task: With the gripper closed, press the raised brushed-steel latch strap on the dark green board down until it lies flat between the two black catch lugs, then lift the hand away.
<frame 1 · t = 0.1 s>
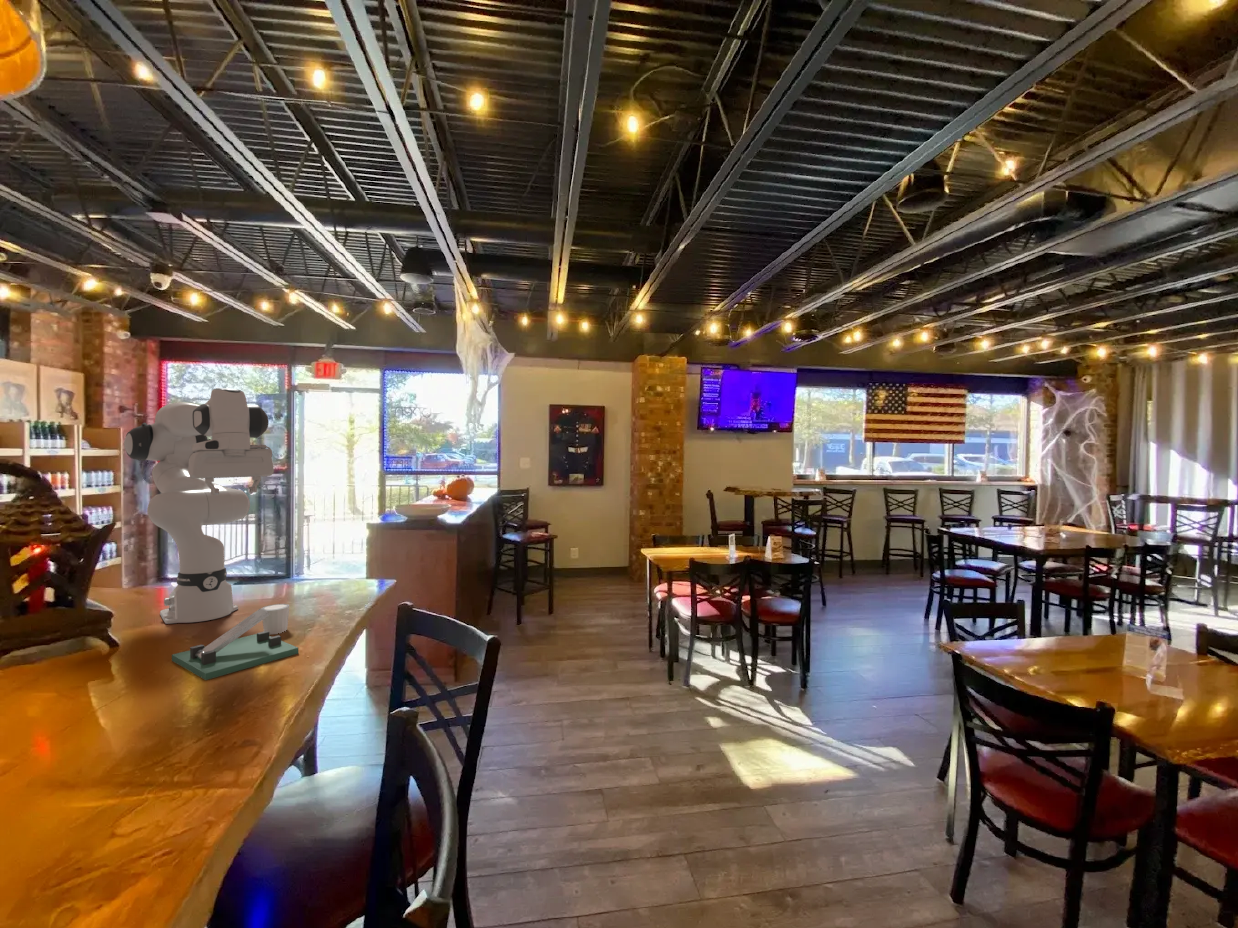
hand: (234, 493, 159), 39 cm above the bar counter, tool pointing down, fingers open, 8 cm apart
white cylinder: (275, 631, 159), on the bar counter
steel strap: (233, 633, 139), point 6 cm above the bar counter, hinge at 28.0°
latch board: (236, 656, 139), on the bar counter
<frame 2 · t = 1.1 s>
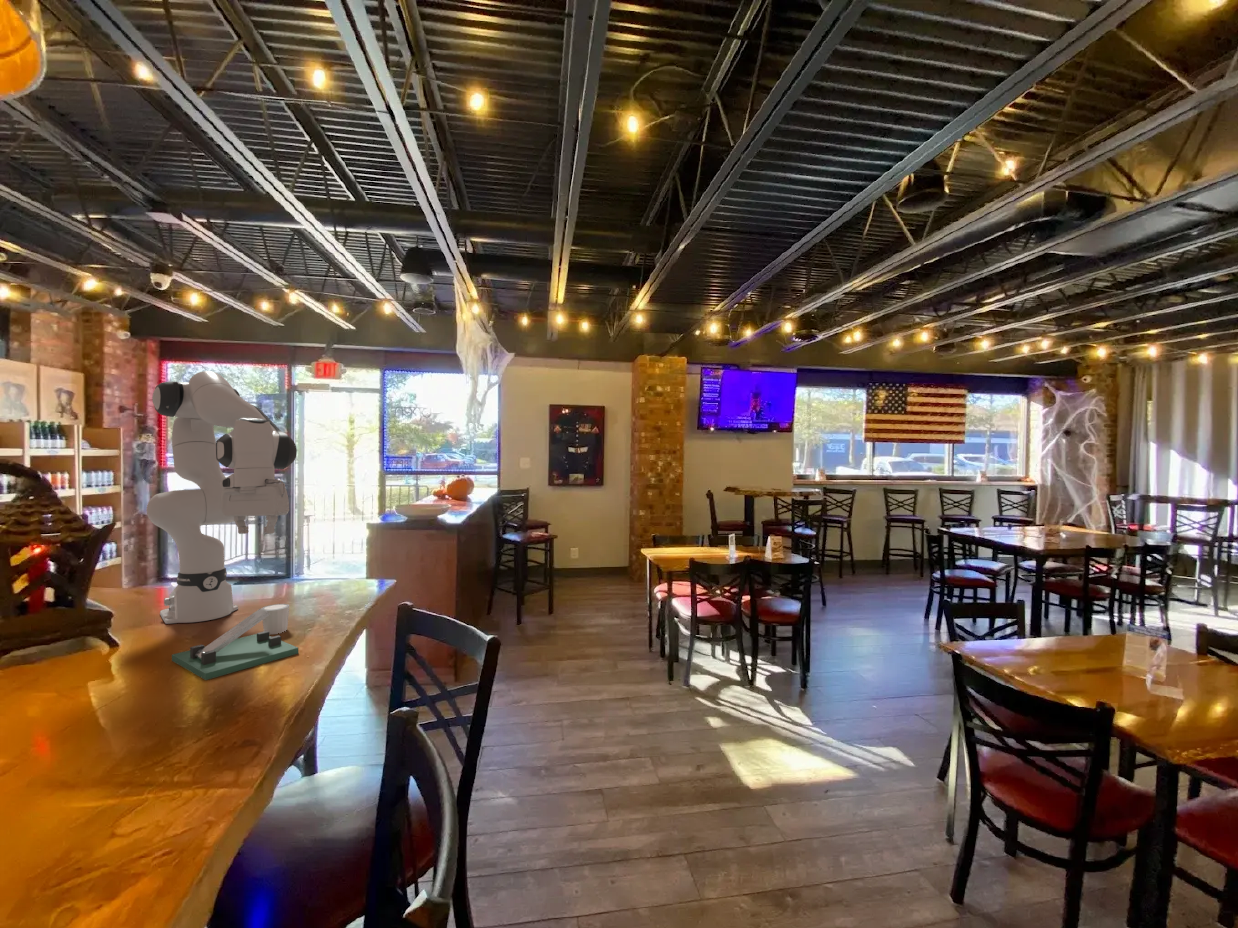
hand: (256, 533, 145), 30 cm above the bar counter, tool pointing down, fingers open, 8 cm apart
nothing on the bar counter moved.
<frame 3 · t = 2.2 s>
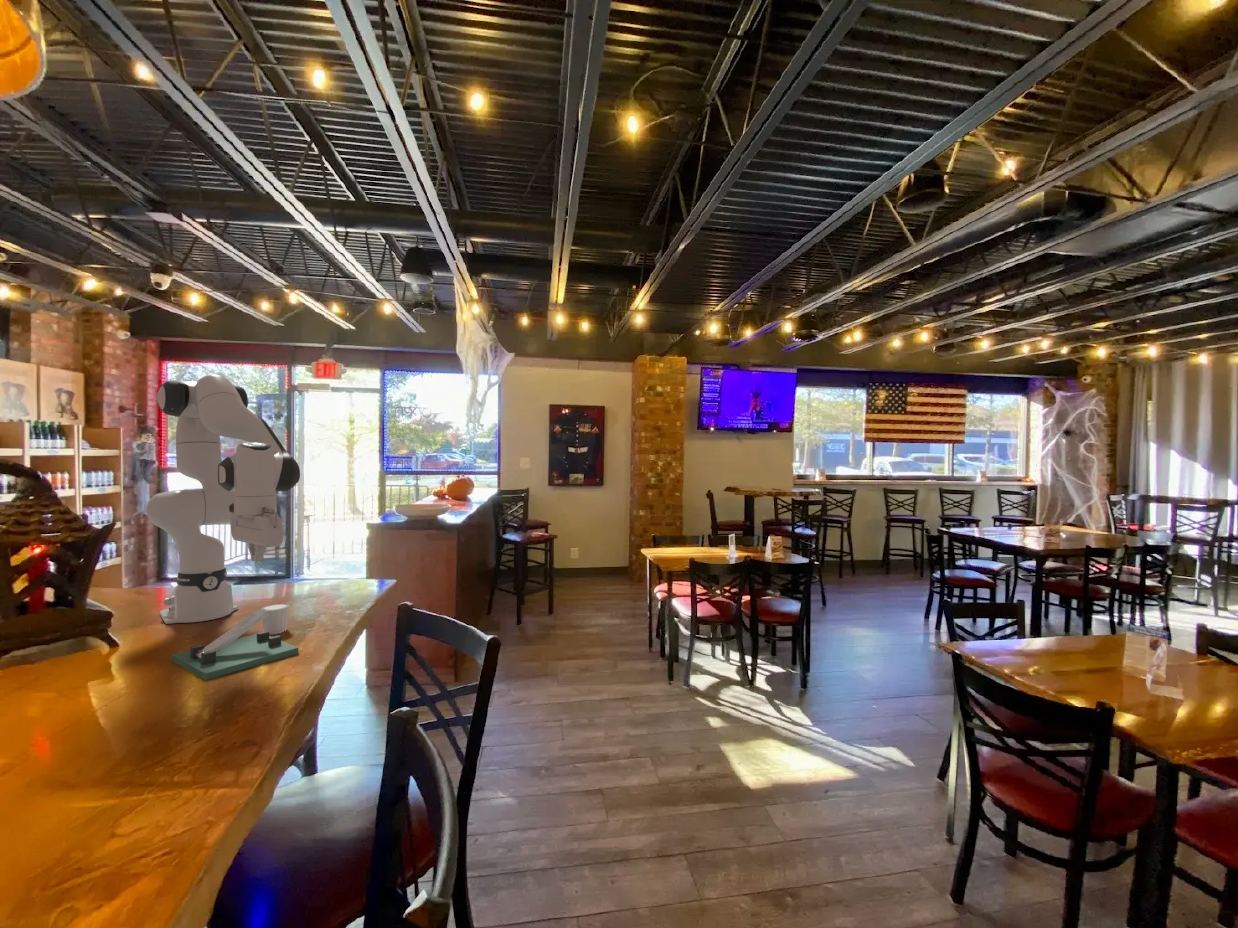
hand: (257, 561, 143), 23 cm above the bar counter, tool pointing down, fingers closed
nothing on the bar counter moved.
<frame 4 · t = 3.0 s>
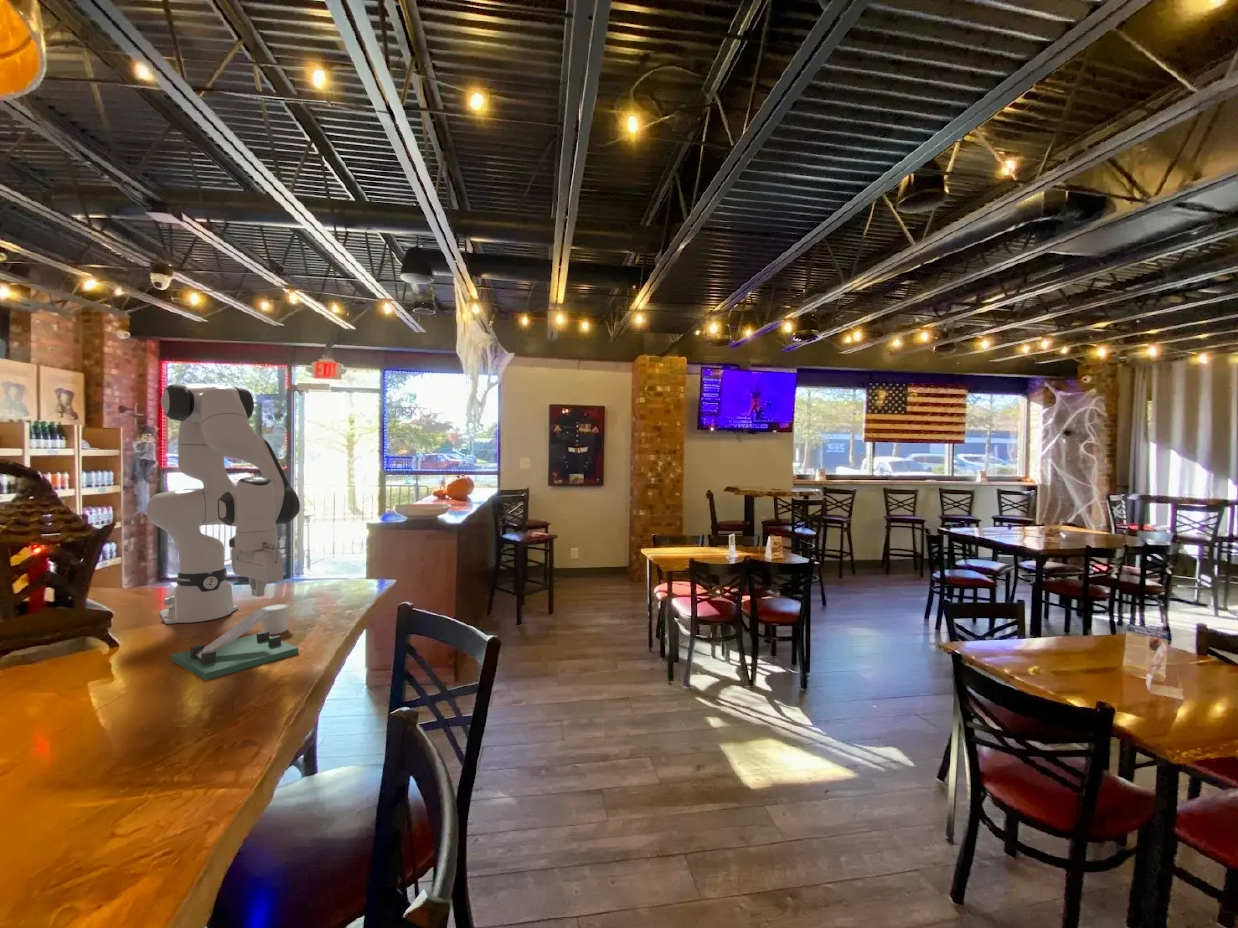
hand: (258, 595, 143), 14 cm above the bar counter, tool pointing down, fingers closed
nothing on the bar counter moved.
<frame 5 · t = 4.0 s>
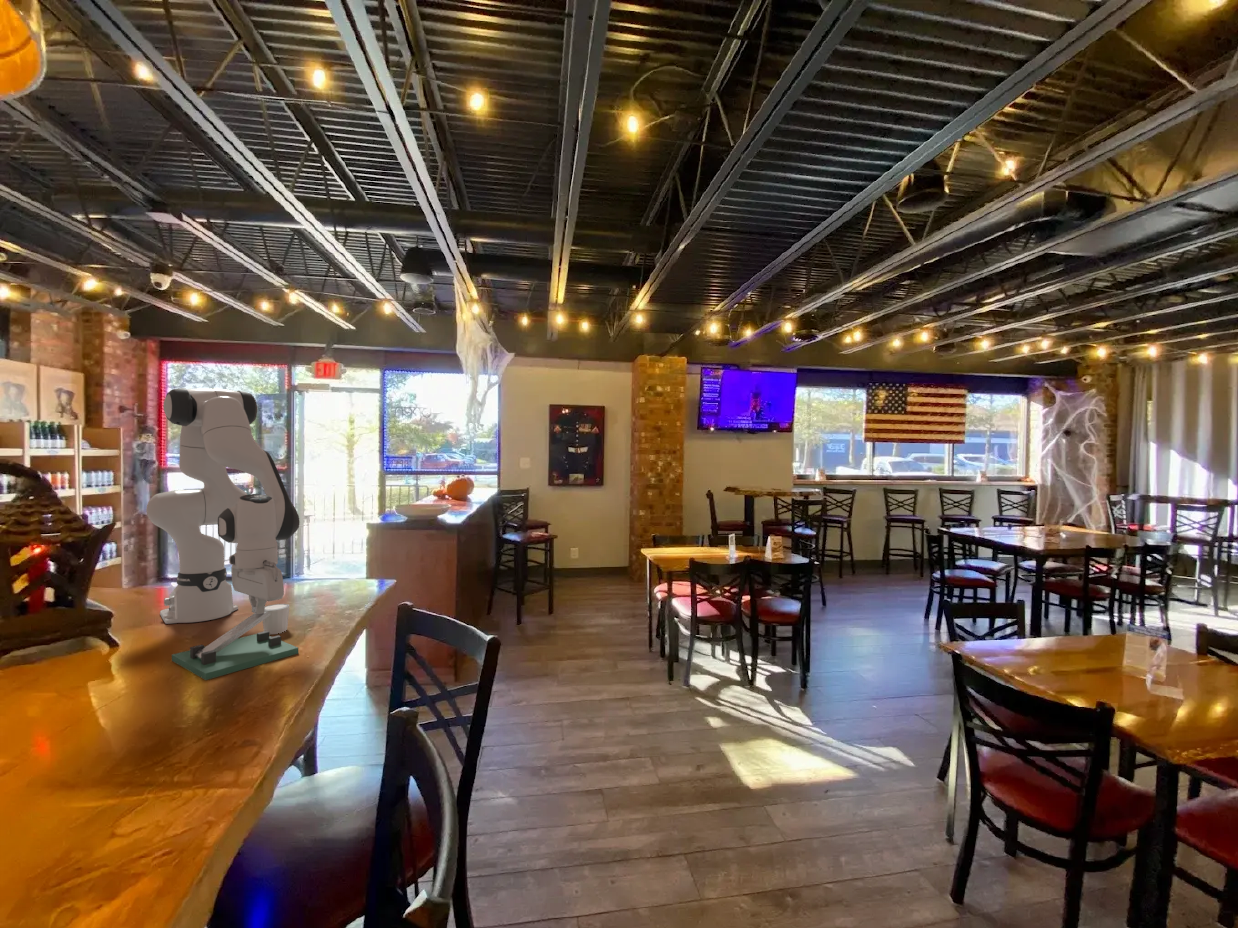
hand: (258, 612, 143), 10 cm above the bar counter, tool pointing down, fingers closed, pressing on steel strap
steel strap: (233, 634, 139), point 6 cm above the bar counter, hinge at 27.3°, touching gripper
everything else where it was.
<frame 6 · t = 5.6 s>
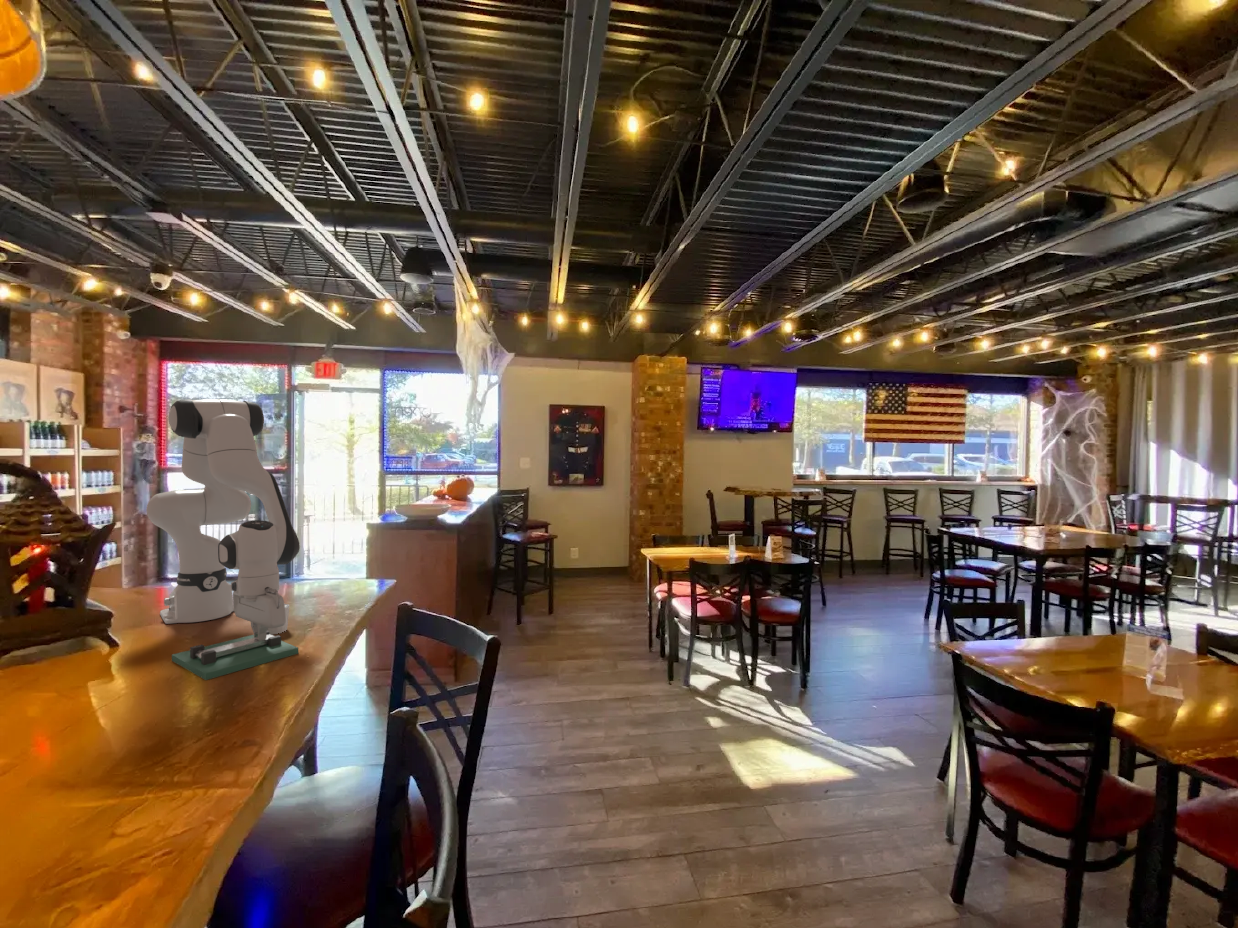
hand: (260, 639, 143), 3 cm above the bar counter, tool pointing down, fingers closed, pressing on steel strap
steel strap: (237, 646, 140), point 2 cm above the bar counter, hinge at -0.2°, touching gripper
everything else where it was.
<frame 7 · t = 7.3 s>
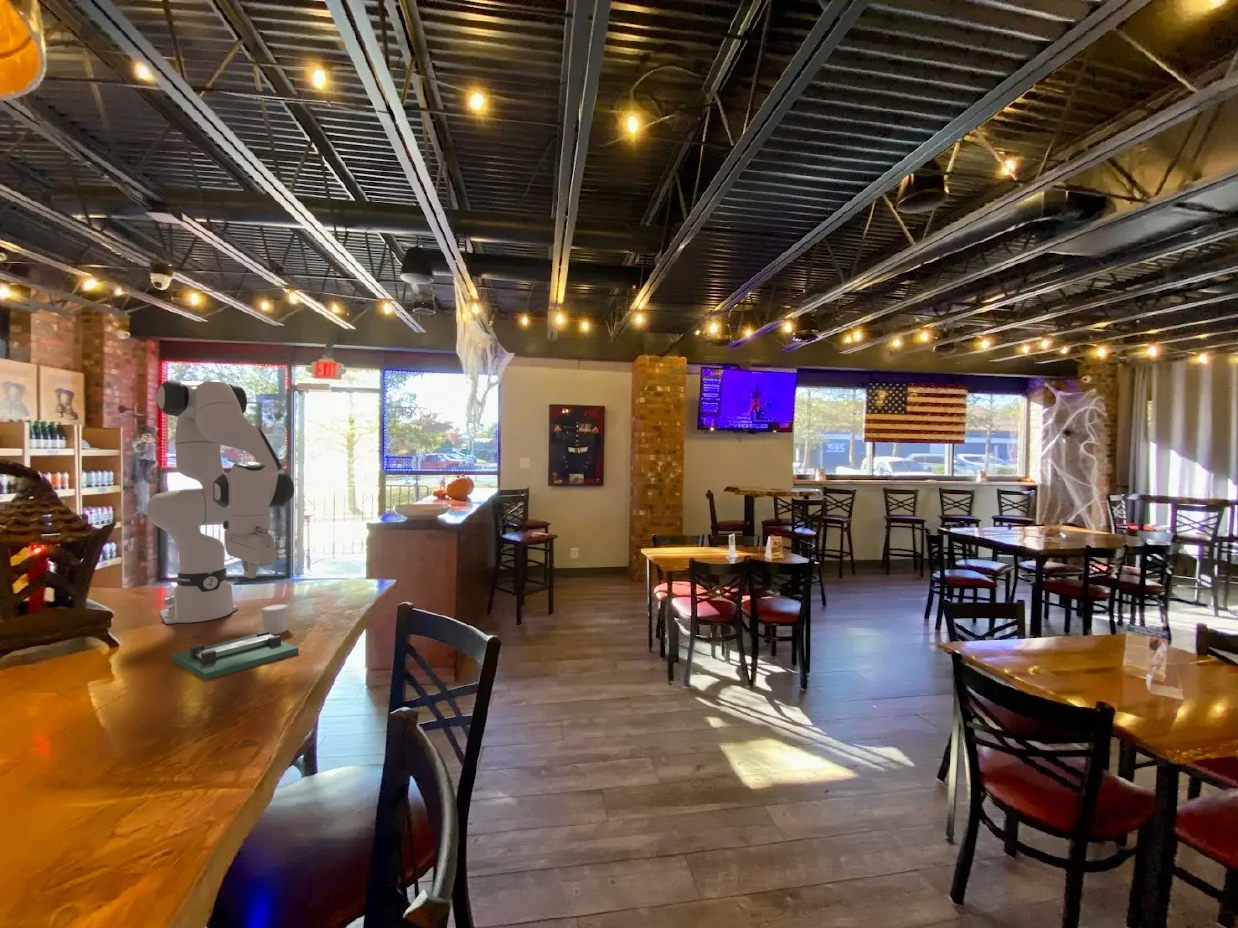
hand: (250, 577, 147), 18 cm above the bar counter, tool pointing down, fingers closed
steel strap: (237, 646, 140), point 2 cm above the bar counter, hinge at -0.3°
everything else where it was.
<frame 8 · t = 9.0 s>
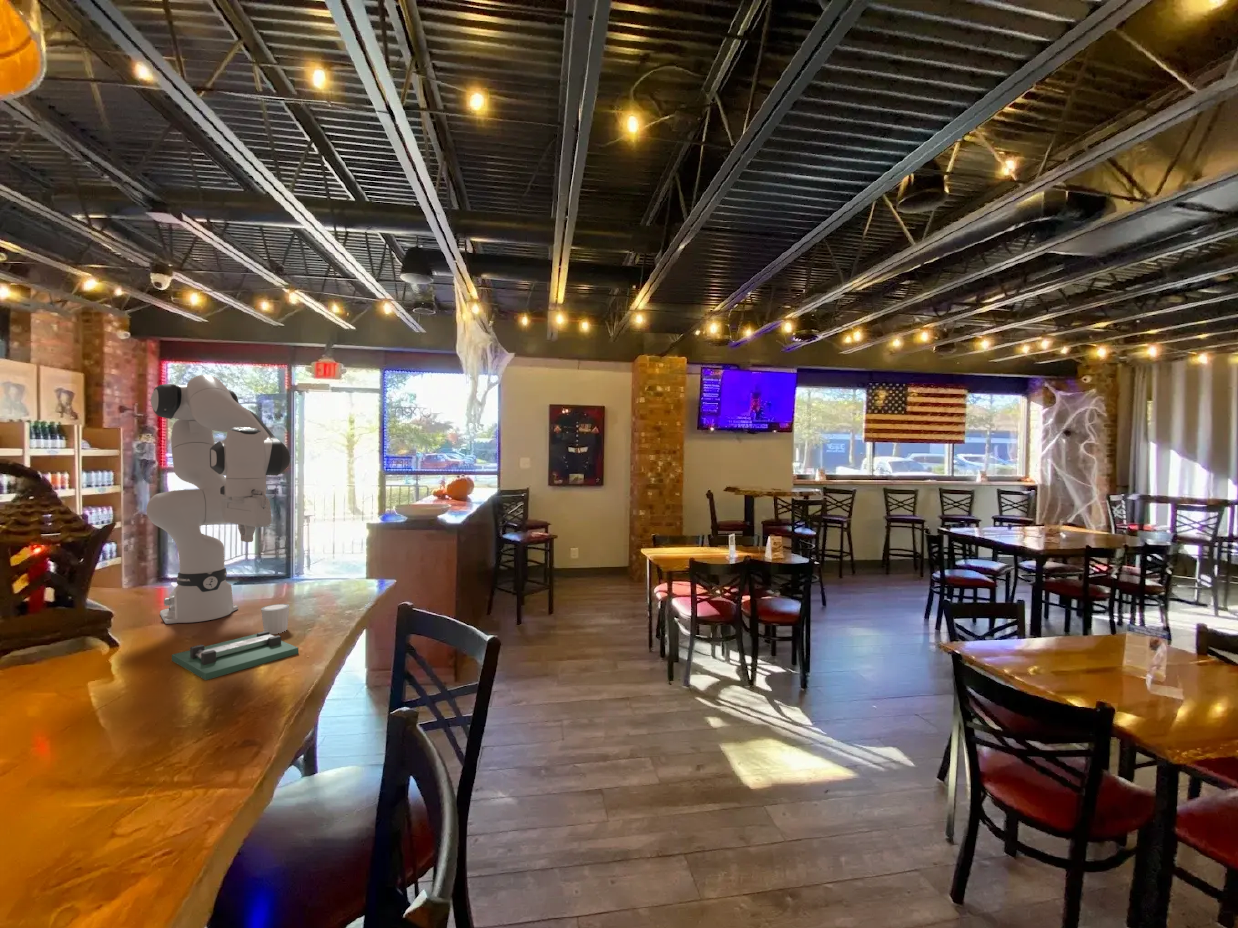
hand: (247, 541, 148), 27 cm above the bar counter, tool pointing down, fingers closed
nothing on the bar counter moved.
at the end: steel strap at +0° (first picture: +28°); white cylinder moved 0.2 cm from its start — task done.
